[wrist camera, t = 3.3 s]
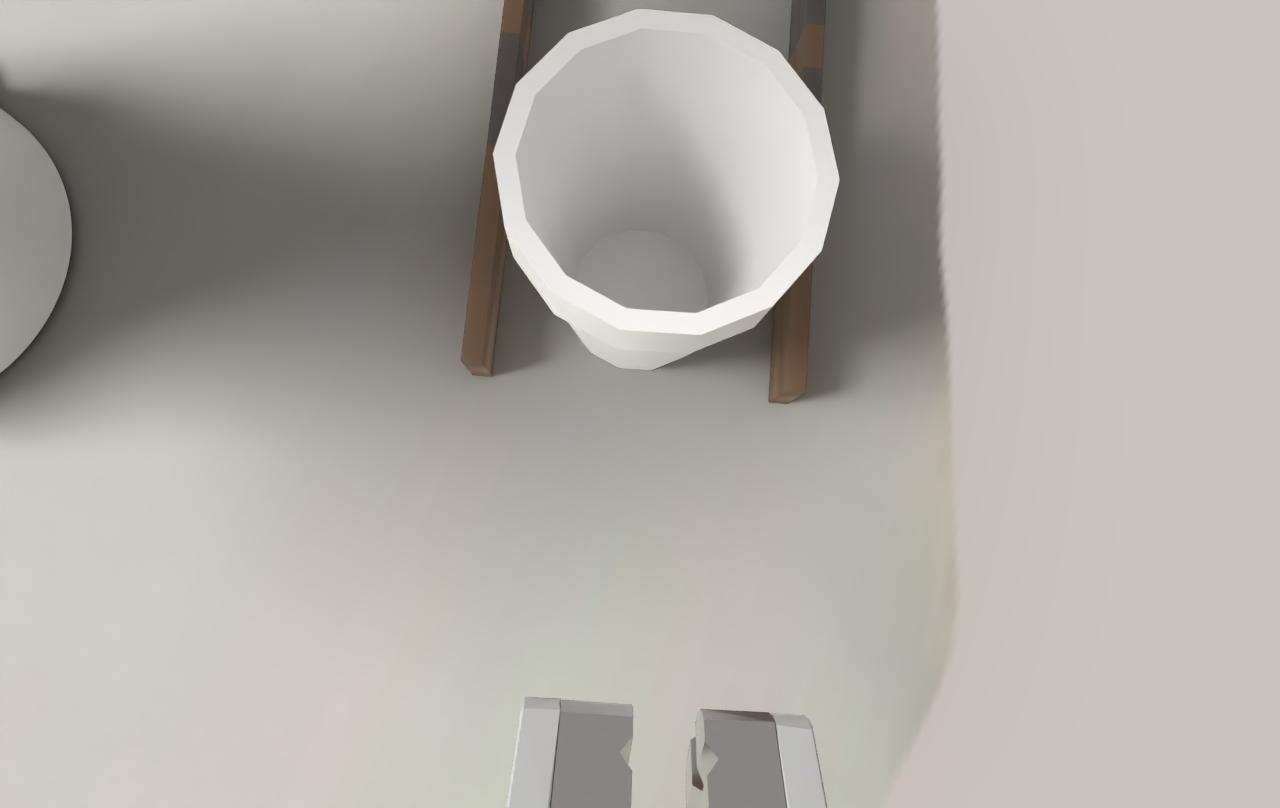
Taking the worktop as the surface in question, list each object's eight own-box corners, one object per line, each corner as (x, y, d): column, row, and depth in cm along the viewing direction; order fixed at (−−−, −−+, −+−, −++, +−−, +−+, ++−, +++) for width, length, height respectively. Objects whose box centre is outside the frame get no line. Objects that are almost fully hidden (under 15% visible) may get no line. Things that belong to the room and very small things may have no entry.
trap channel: (472, 374, 33) (460, 360, 30) (539, -196, 37) (535, -258, 34) (786, 403, 33) (805, 392, 31) (817, -159, 38) (836, -217, 35)
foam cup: (568, 172, 34) (555, -33, 22) (766, 231, 35) (869, 62, 22) (504, 372, 33) (450, 280, 20) (712, 432, 33) (789, 378, 20)
